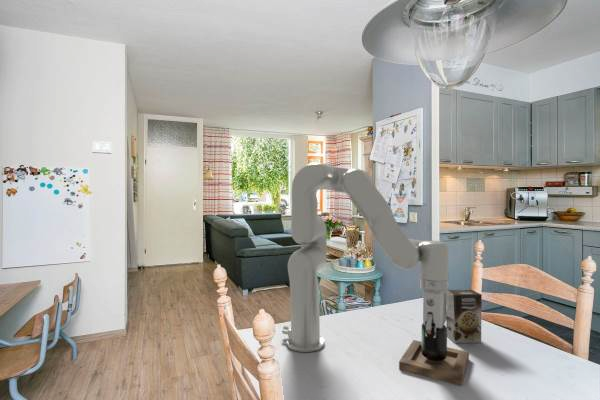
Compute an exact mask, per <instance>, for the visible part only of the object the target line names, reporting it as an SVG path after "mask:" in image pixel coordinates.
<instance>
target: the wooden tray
mask: <svg viewBox="0 0 600 400" xmlns="http://www.w3.org/2000/svg"><path fill="white" fill-rule="evenodd" d="M469 357H470V352H469V351H467V350H461V349H457V348H452V347H448V346H447V358H446V359H445V360H443V361H433V360H429V359H427V358H425V357H424V356H423V355H422V340H421V341H419V340H416V339H413V340H412V342H411V343H410V345H409V346H408V347H407V349H406V350H405V352H404V354H403V355H402V356H401V358H400V360H399V361H398V369H399V370H401V371H405V372H408V373H412V374H416V375H420V376H423V377H427V378H431V379H435V380H439V381H442V382H445V383H446V382H447V383H449V384H454V385H457V386H460V385H461V387H462V386H463V382H464V378H465V374H466V370H467V367H468V364H469V360H470V359H469Z"/></svg>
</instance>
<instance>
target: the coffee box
mask: <svg viewBox="0 0 600 400" xmlns="http://www.w3.org/2000/svg"><path fill="white" fill-rule="evenodd" d="M482 296H483V295H482V294H481V293H479V292H477V291H475V290H473V289H448V292H446V310H447V319H446V322H445V326H446V328H447V339H448V338H449V339H450V341H451V342H453V344H481V343H482V299H483V298H482Z"/></svg>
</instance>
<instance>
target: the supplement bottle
mask: <svg viewBox="0 0 600 400" xmlns="http://www.w3.org/2000/svg"><path fill="white" fill-rule="evenodd" d="M432 326H435V324H432ZM432 330H433V332H434V328H432ZM425 332H426V326H425V325H424V324H423V323H422V324H421V342H422V355H423V356H424V357H425V358H427V359H429V360H433V361H443V360H445V359H446V358H447V347H448V337H447V328H446V324H444V325H443V327H442V328H441V329H439V328H438V327H437V335H436V337H437V338H438V351H437V352H433V351H428V350H426V349H425Z"/></svg>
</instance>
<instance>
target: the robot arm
mask: <svg viewBox="0 0 600 400" xmlns="http://www.w3.org/2000/svg"><path fill="white" fill-rule="evenodd" d="M372 180H373V179H372V176H371V175H370V174H369V173H368V172H367V171H365V170H363V169H360V168H346V167H342V166H336V165H331V164H328V163H327V164H326V163H323V162H311V163H309V164H307V165H304V166H303V167H301V168H300V169H299V170H298V171H297V173H296V174H295V175H294V177H293V179H292V182H291V183H292V184H291V215H290V216H291V217H290V218H291V221H290V222H291V223H290V228H291V229H290V232H291V237H292V239H293V241H294V242H295V243H297V244H298V245H300V248H299V249H297V250H295V251H294V252H292V254H291V255H290V256H289V259H288V261H287V273H288V281H289V289H290V290H289V292H290V293H289V295H290V298H289V299H290V326H289V325H283V327H282V331H281V333H282V334H284V335H287V336H288V337H287V338H286V341H285V342H286V346H287V347H288V348H289V350H292V351H295V352H300V353H310V352H311V353H312V352H315V351H319V350H320V349H322V348H323V347H324V346H325V345H326V344H325V342H326V341H325V338H324V337H323V336H322V335H320V332H321V331H320V330H321V329H320V323H321V322H320V320H321V319H320V286H319V278H318V272H319V271H320V270H322V269H323V268H324V266H325V265H326V261H327V254H328V253H327V236H328V235H327V225H326V222H325V221H324V219H323V217H321V216H320V215H318V208H319V207H318V206H319V205H318V204H319V203H318V198H317V194H318V193H317V192H318V191H319V190H327V191H331V192H332V191H334V192H339V193H343V194H346V196H347V197H348V199H349V200H350V201H351V203H352V204H353V205H354V207H355V208H356V209H357V211H358V212H359V214H360V215H361V216H362V218H363V220H364V221H365V222H366V224H367V226H368V228H369V229H370V231H371V233H372V234H373V236H374V238H375V239H376V242H377V243H378V244H379V246H380V247H381V249H382V251H384V253H385V254H386V255H387V257H388V258H389V260H390V261H391V262H392V263H393V265H395V266H396V267H398V268H399V269H402V270H409V269H413V268H414V267H415V266H416V265H417V264H418V263H419V266H420V267H419V269H420V271H419V272H420V273H419V275H420V277H419V280H420V281H419V287H420V288H419V289H421V291H423V298H422V299H423V300H422V301H423V302H422V304H423V305H422V320H423V321H422V324H424V325H425V326H426V332H425V349H426V350H428V351H433V352H437V351H438V338H437V337H436V335H437V327H438V328H439V329H441V328H442V327H443V325H446V319H447V292H448V290H449V245H448V244H447V243H446V242H445V241H440V240H421V239H420V240H419V239H414V238H408V237H407V235H406V233H405V232H404V231H403V230H402V228H401V227H400V225H399V223H398V222H397V220H396V218H395V216H394V213H393V210H392V208H391V205H390V204H389V202H388V201H387V200H386V199H385V197H384V196H383V195H382V194H381V192H380V191H379V190H378V188H377V187H376V186H375V184H374V182H373V181H372ZM432 324H435V326H432ZM432 328H434V332H433V330H432Z"/></svg>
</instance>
